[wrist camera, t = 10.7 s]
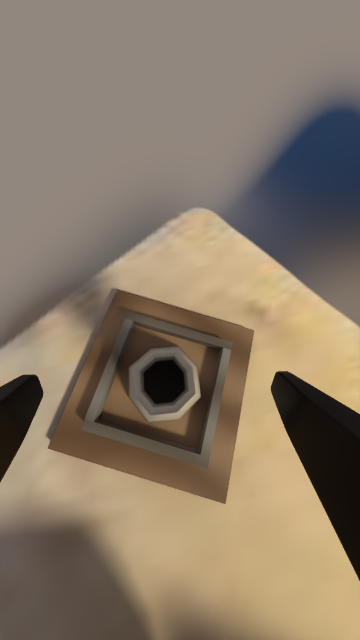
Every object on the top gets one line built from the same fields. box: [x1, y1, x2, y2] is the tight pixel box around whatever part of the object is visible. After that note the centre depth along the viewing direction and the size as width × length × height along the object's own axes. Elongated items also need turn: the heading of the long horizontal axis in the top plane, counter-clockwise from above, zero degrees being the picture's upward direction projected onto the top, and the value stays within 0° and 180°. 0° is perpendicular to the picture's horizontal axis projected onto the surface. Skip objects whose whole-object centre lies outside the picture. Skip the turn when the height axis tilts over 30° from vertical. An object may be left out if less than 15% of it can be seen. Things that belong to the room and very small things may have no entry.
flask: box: [128, 346, 201, 423], centre depth 14 cm, size 7×7×10 cm
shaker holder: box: [48, 290, 254, 504], centre depth 19 cm, size 16×16×2 cm
